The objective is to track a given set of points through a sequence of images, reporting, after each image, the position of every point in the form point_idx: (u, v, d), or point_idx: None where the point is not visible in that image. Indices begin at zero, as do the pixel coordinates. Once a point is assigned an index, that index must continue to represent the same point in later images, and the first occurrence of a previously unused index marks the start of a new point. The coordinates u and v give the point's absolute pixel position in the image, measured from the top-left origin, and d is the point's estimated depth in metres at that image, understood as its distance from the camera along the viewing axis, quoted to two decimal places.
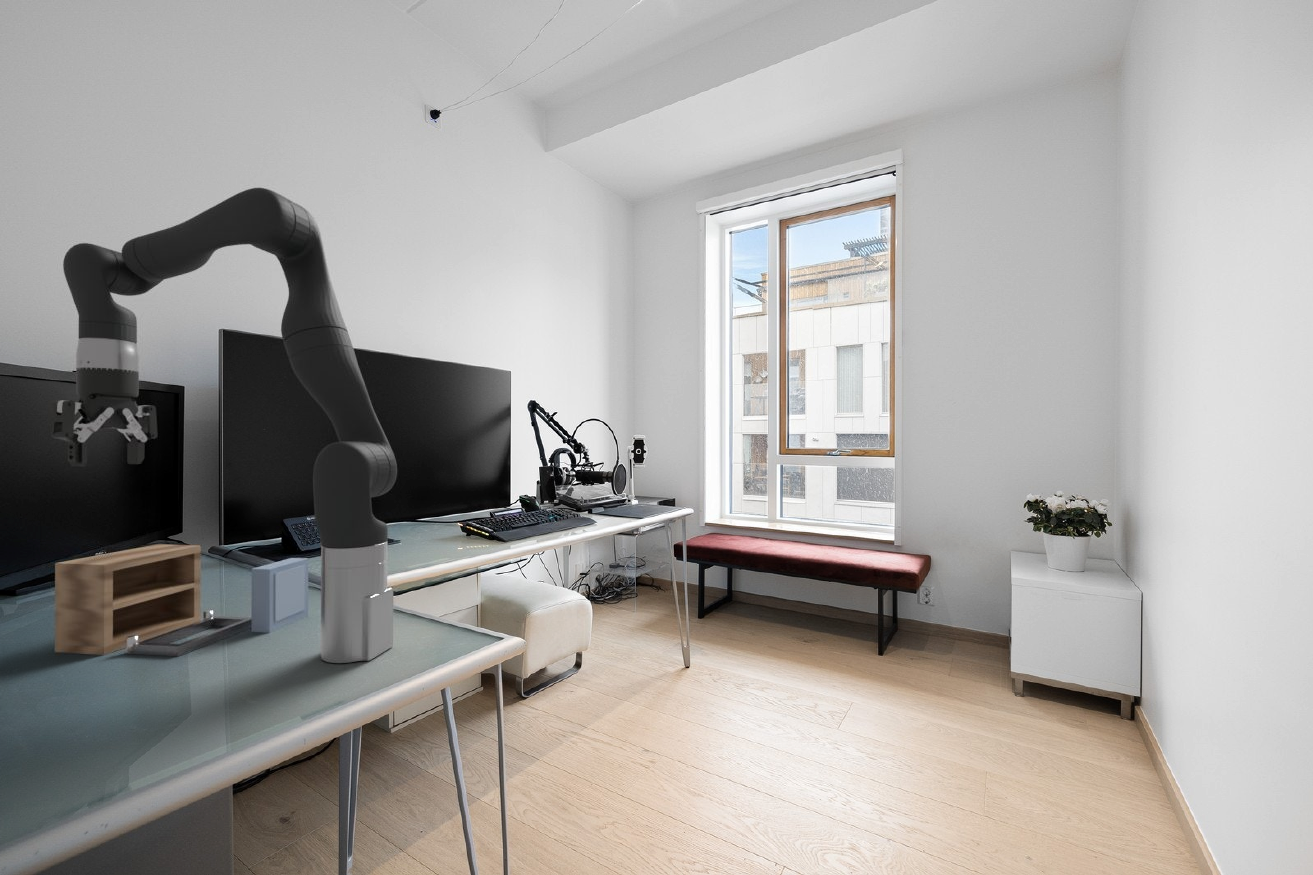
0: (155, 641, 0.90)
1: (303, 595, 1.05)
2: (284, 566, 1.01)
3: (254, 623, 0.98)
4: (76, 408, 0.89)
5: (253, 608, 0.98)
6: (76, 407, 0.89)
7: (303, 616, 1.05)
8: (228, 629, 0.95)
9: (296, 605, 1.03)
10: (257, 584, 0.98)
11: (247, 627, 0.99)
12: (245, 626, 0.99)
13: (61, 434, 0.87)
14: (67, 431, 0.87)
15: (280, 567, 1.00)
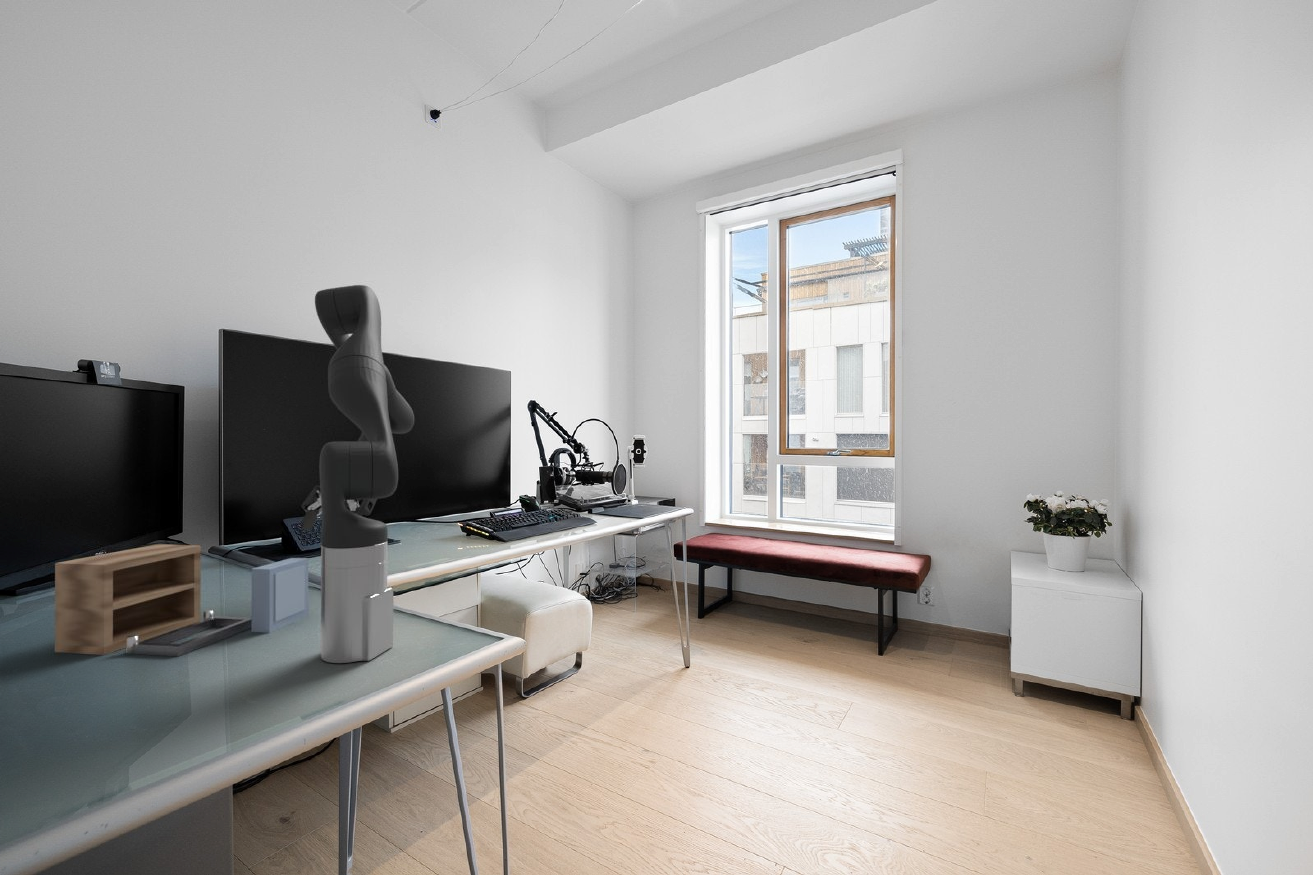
0: (155, 641, 0.90)
1: (303, 595, 1.05)
2: (284, 566, 1.01)
3: (254, 623, 0.98)
4: None
5: (253, 608, 0.98)
6: None
7: (303, 616, 1.05)
8: (228, 629, 0.95)
9: (296, 605, 1.03)
10: (257, 584, 0.98)
11: (247, 627, 0.99)
12: (245, 626, 0.99)
13: None
14: (304, 503, 1.17)
15: (280, 567, 1.00)
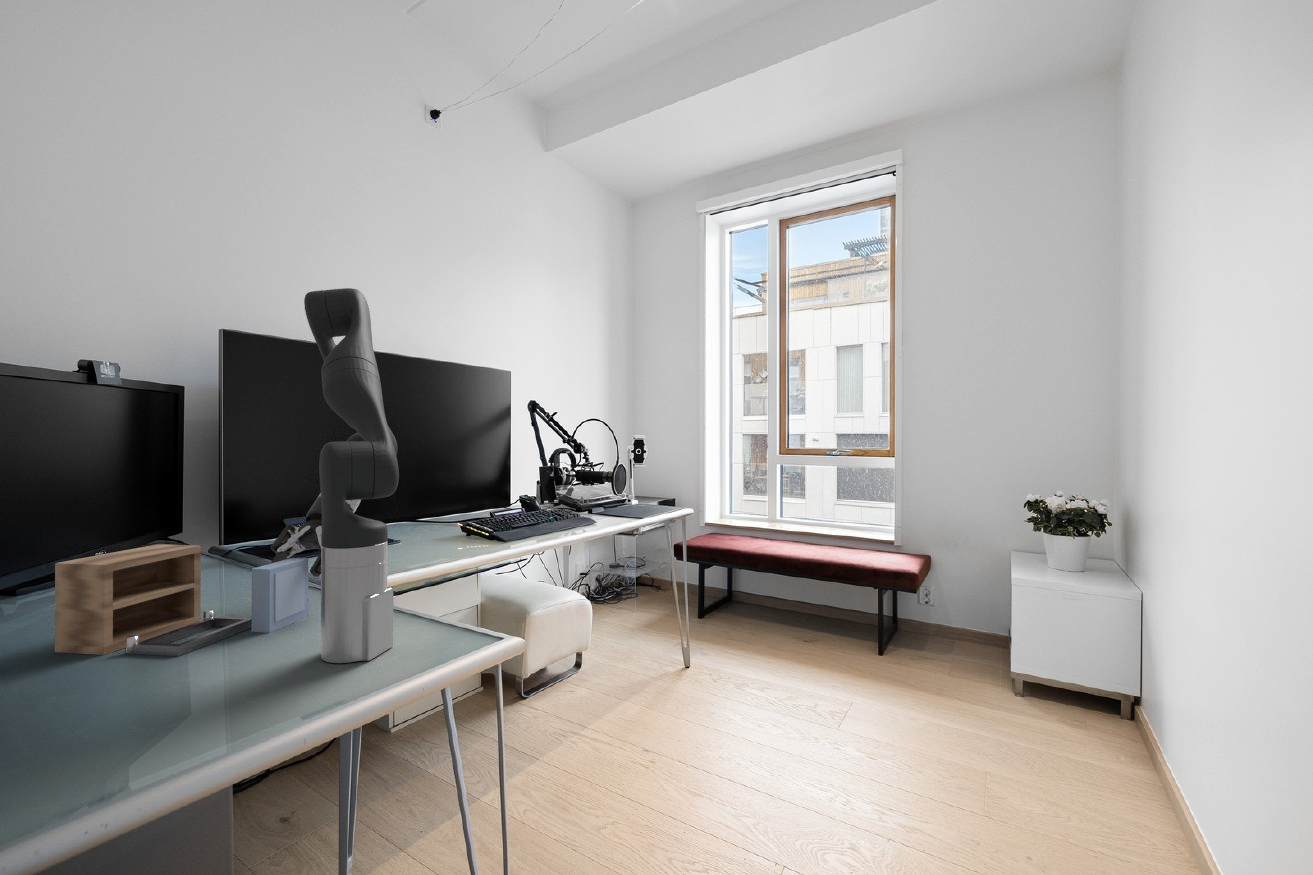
0: (155, 641, 0.90)
1: (303, 595, 1.05)
2: (284, 566, 1.01)
3: (254, 623, 0.98)
4: (295, 531, 1.12)
5: (253, 608, 0.98)
6: (295, 530, 1.12)
7: (303, 616, 1.05)
8: (228, 629, 0.95)
9: (296, 605, 1.03)
10: (257, 584, 0.98)
11: (247, 627, 0.99)
12: (245, 626, 0.99)
13: None
14: (274, 544, 1.09)
15: (280, 567, 1.00)
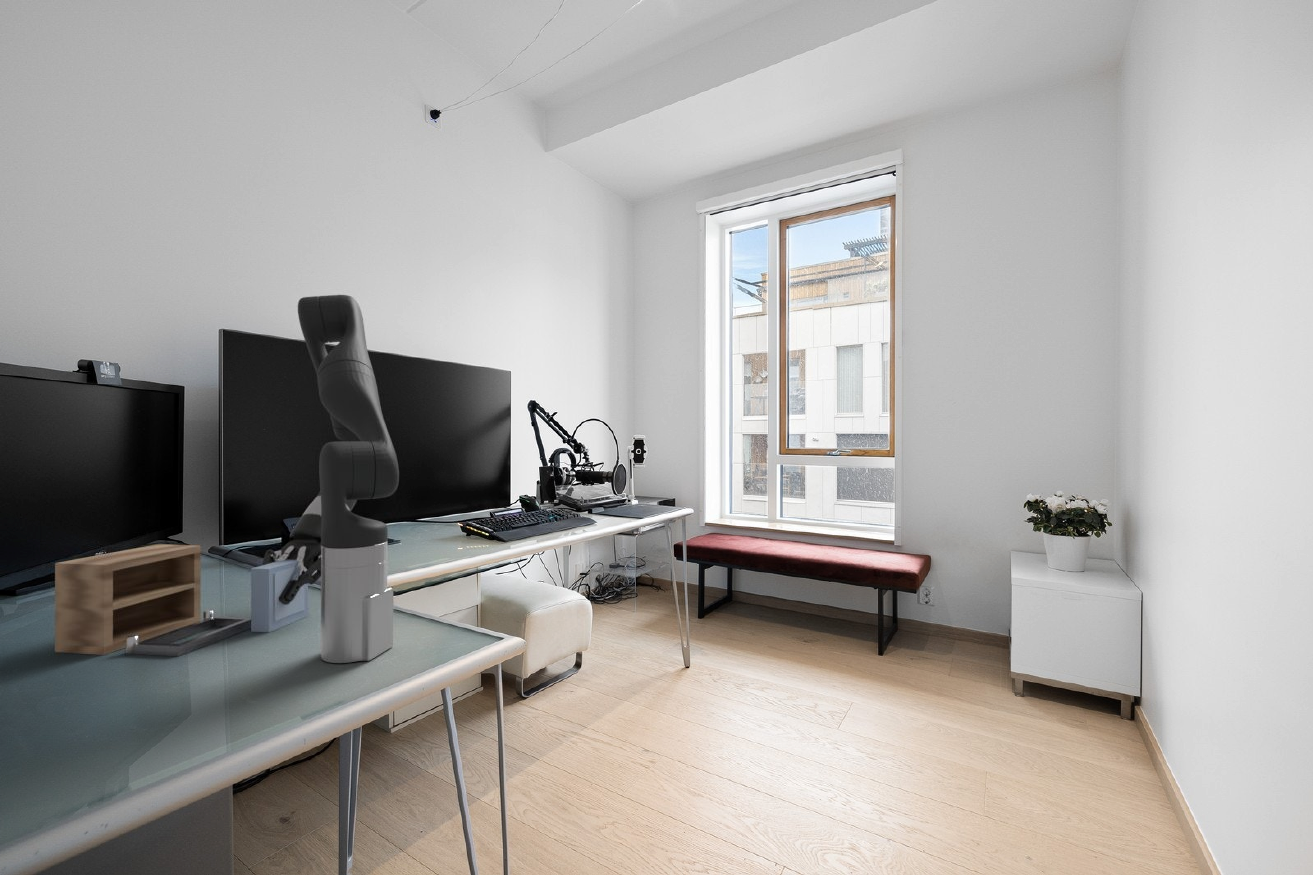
0: (155, 641, 0.90)
1: (303, 595, 1.05)
2: (283, 566, 1.01)
3: (254, 623, 0.98)
4: (277, 554, 1.07)
5: (253, 608, 0.98)
6: (277, 554, 1.07)
7: (303, 616, 1.05)
8: (228, 629, 0.95)
9: (296, 605, 1.03)
10: (256, 584, 0.98)
11: (247, 627, 0.99)
12: (245, 626, 0.99)
13: None
14: None
15: (279, 567, 1.00)
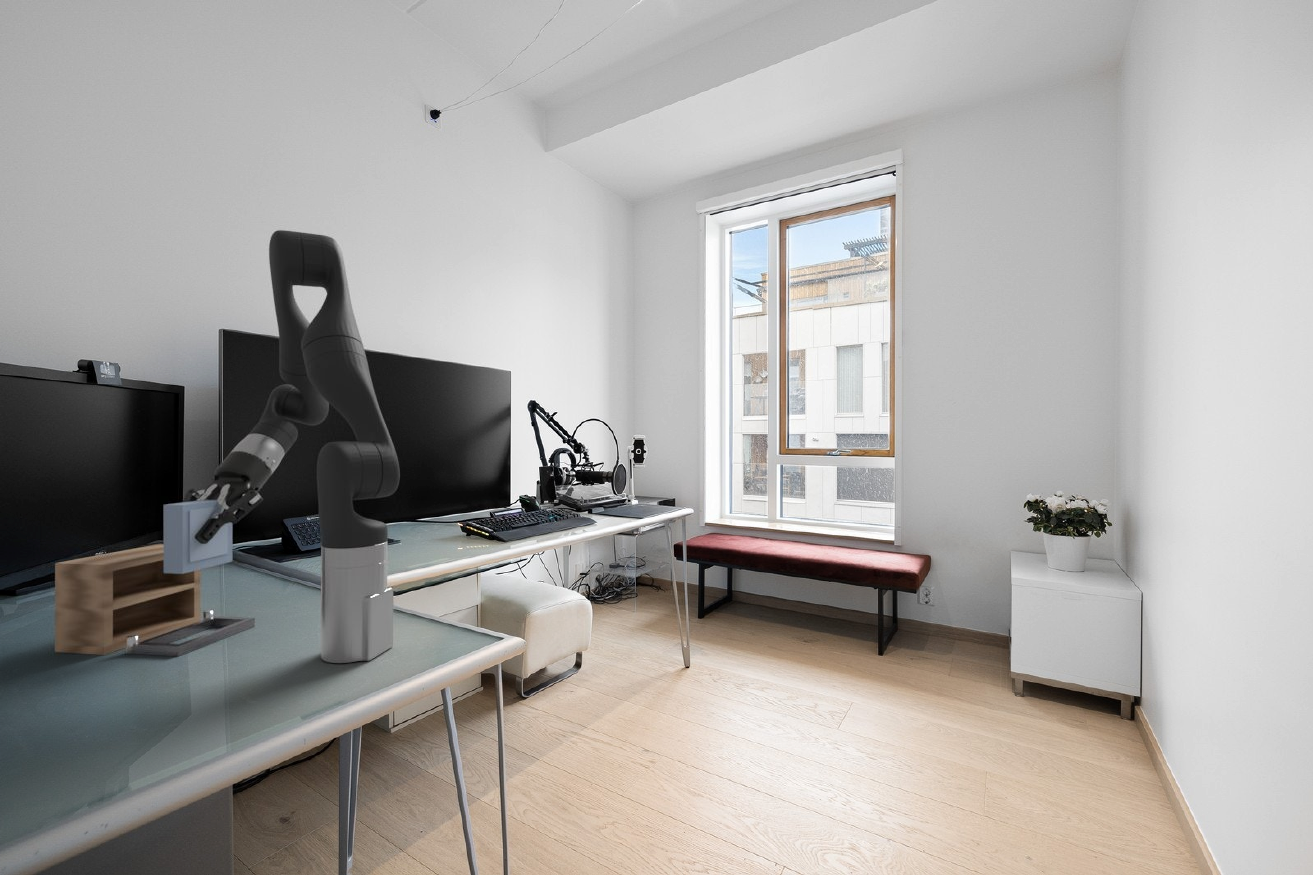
0: (155, 641, 0.90)
1: (226, 538, 0.97)
2: (201, 504, 0.93)
3: (166, 563, 0.90)
4: (200, 494, 0.99)
5: (165, 547, 0.90)
6: (200, 493, 0.99)
7: (226, 560, 0.97)
8: (228, 629, 0.95)
9: (217, 548, 0.96)
10: (169, 521, 0.90)
11: (247, 627, 0.99)
12: (245, 626, 0.99)
13: None
14: None
15: (196, 504, 0.92)
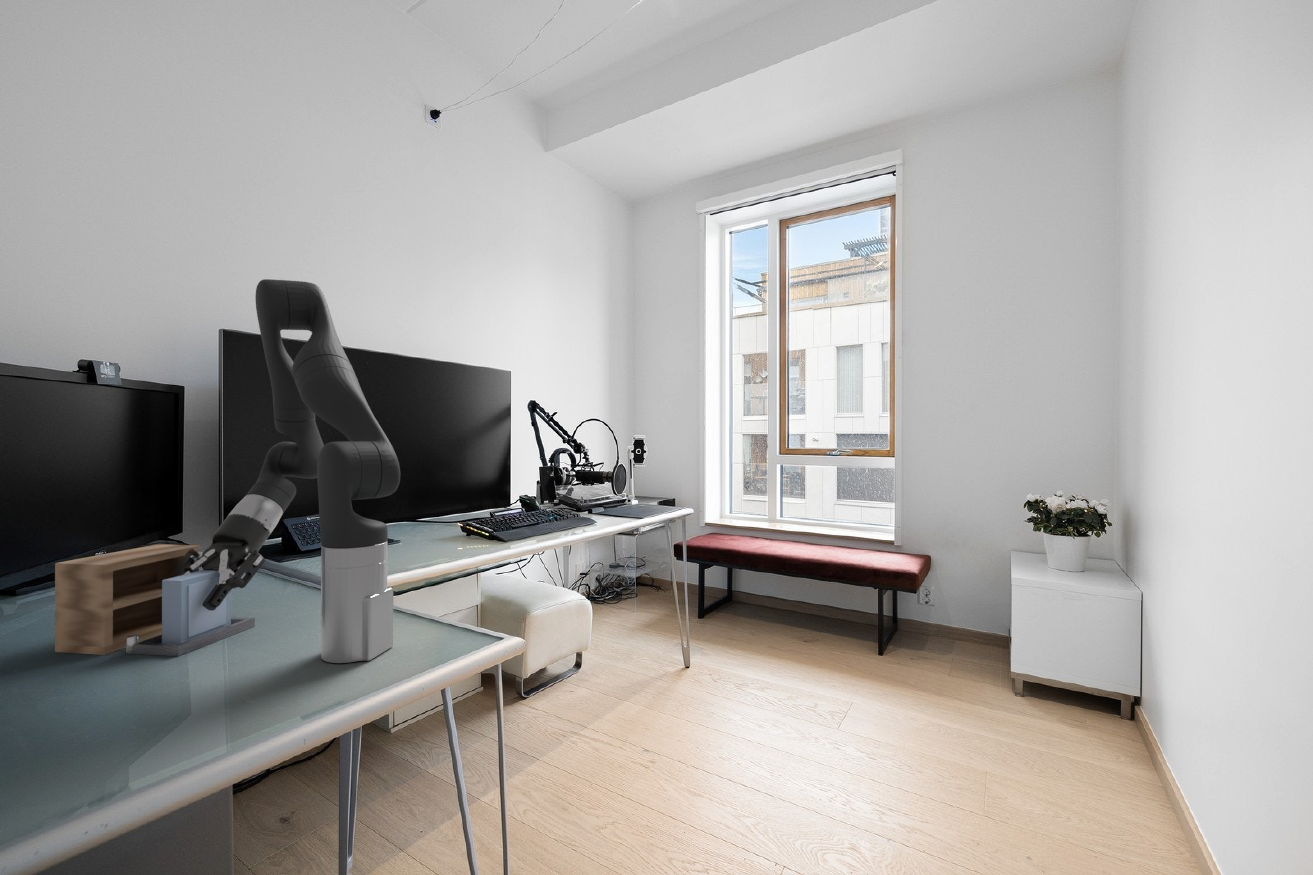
0: (155, 641, 0.90)
1: (224, 608, 0.97)
2: (200, 577, 0.93)
3: (165, 639, 0.90)
4: (198, 556, 0.99)
5: (164, 623, 0.90)
6: (199, 555, 1.00)
7: None
8: (228, 629, 0.95)
9: (216, 619, 0.95)
10: (168, 597, 0.90)
11: (247, 627, 0.99)
12: (245, 626, 0.99)
13: None
14: (175, 572, 0.96)
15: (195, 578, 0.92)
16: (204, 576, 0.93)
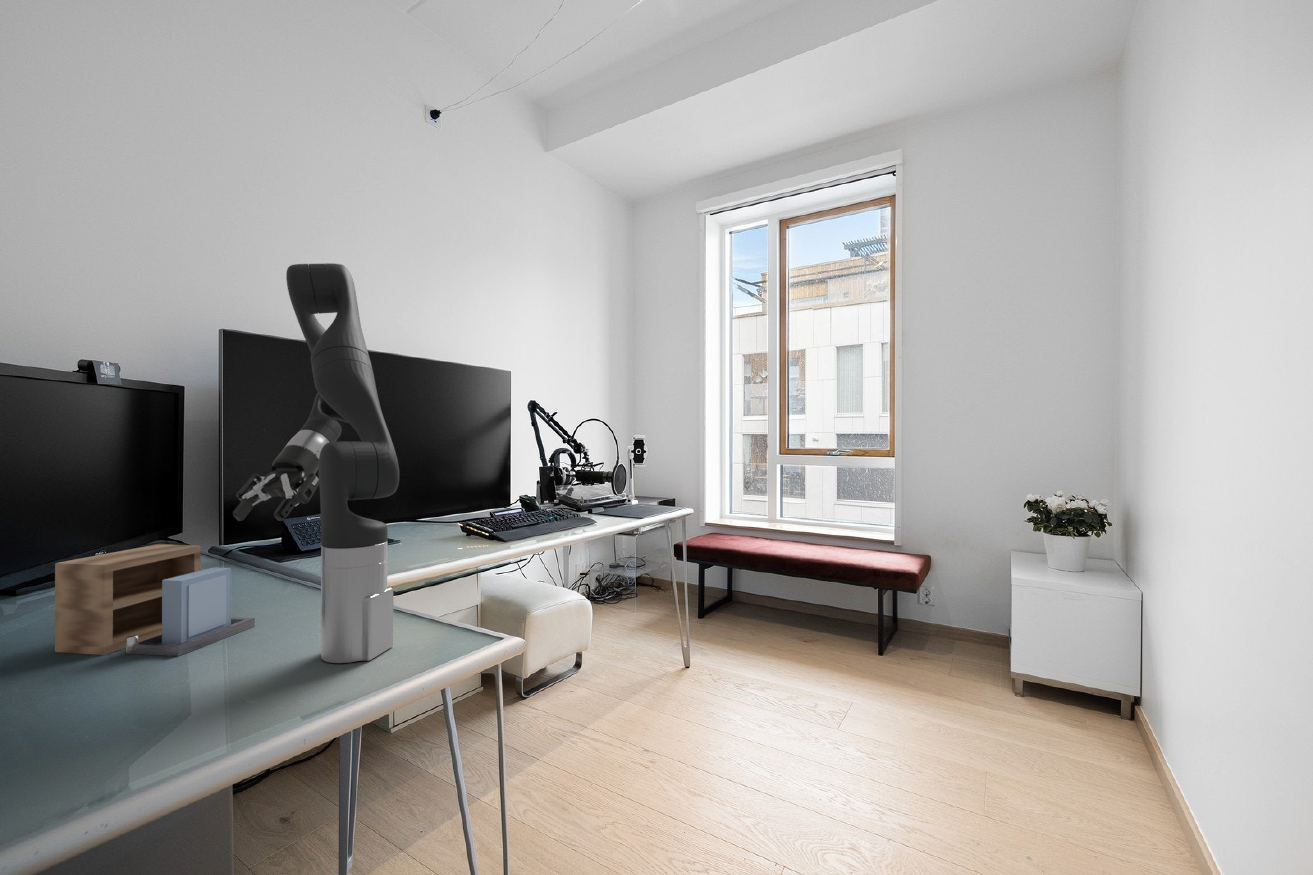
0: (155, 641, 0.90)
1: (224, 608, 0.97)
2: (200, 577, 0.93)
3: (165, 639, 0.90)
4: (261, 480, 1.13)
5: (164, 623, 0.90)
6: (261, 479, 1.13)
7: None
8: (228, 629, 0.95)
9: (216, 619, 0.95)
10: (168, 597, 0.90)
11: (247, 627, 0.99)
12: (245, 626, 0.99)
13: None
14: (239, 491, 1.10)
15: (195, 578, 0.92)
16: (204, 576, 0.93)
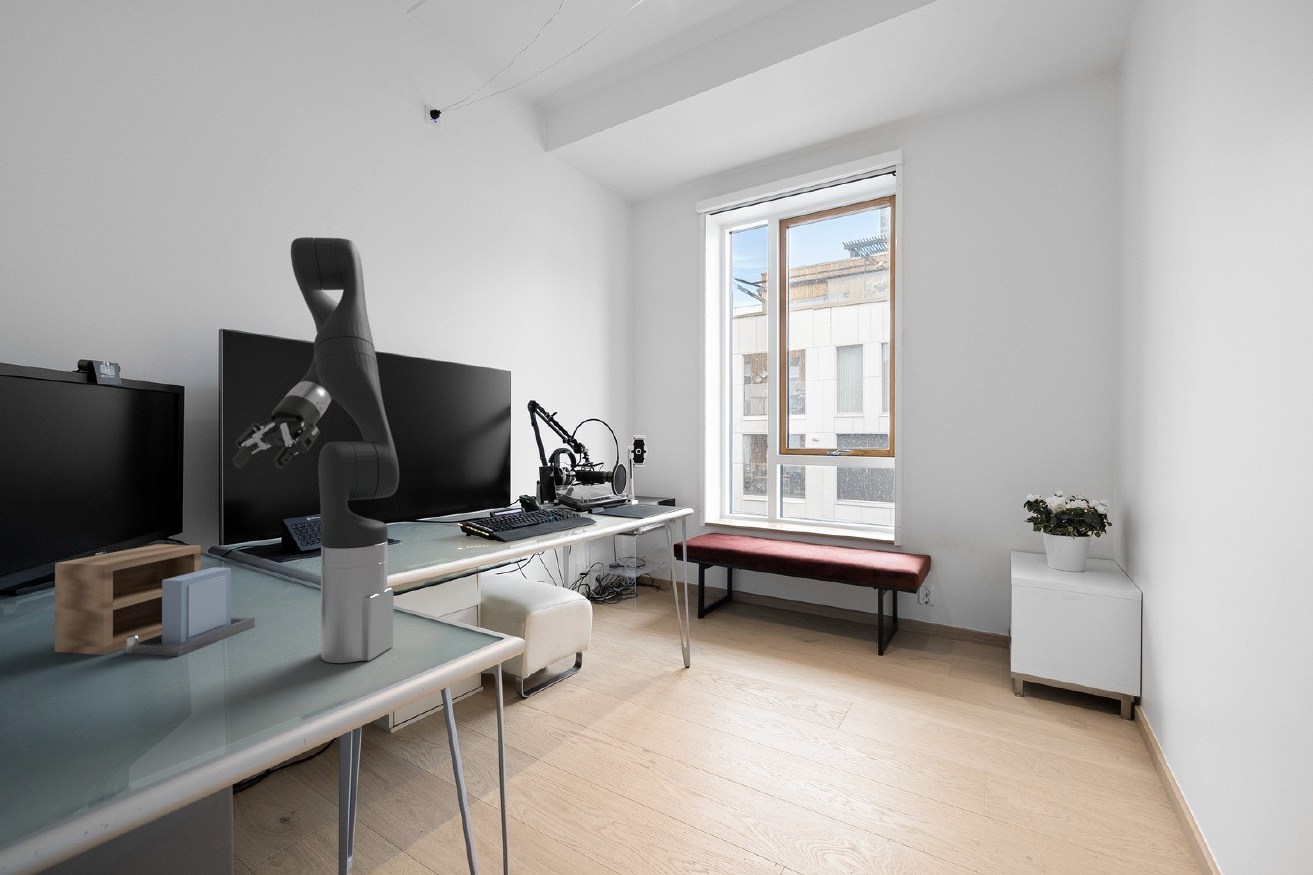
0: (155, 641, 0.90)
1: (224, 608, 0.97)
2: (200, 577, 0.93)
3: (165, 639, 0.90)
4: (260, 429, 1.13)
5: (164, 623, 0.90)
6: (260, 429, 1.13)
7: None
8: (228, 629, 0.95)
9: (216, 619, 0.95)
10: (168, 597, 0.90)
11: (247, 627, 0.99)
12: (245, 626, 0.99)
13: None
14: (238, 439, 1.10)
15: (195, 578, 0.92)
16: (204, 576, 0.93)
